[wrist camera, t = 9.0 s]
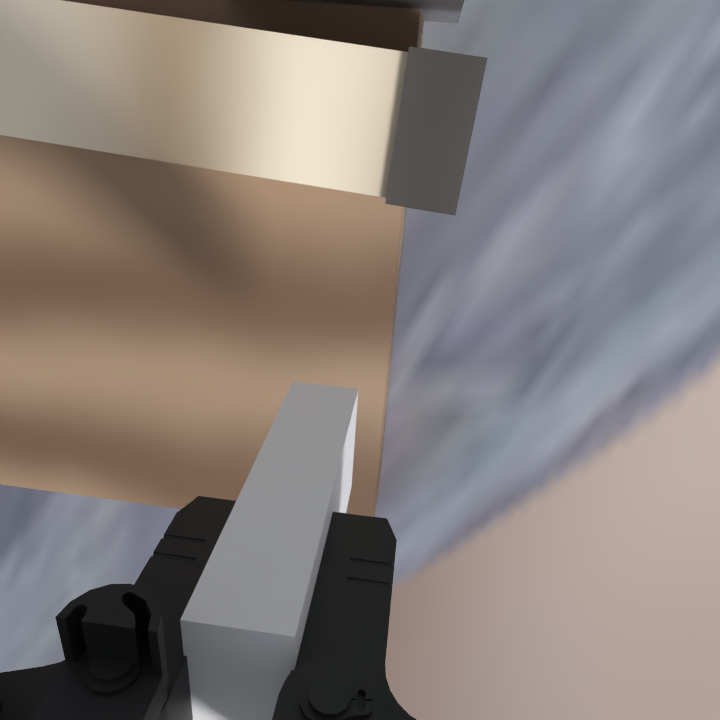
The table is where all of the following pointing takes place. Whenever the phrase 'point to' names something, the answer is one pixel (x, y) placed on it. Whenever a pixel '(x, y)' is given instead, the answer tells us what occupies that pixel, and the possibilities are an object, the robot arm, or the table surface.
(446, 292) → the table surface
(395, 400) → the table surface
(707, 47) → the table surface
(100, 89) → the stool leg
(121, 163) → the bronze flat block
